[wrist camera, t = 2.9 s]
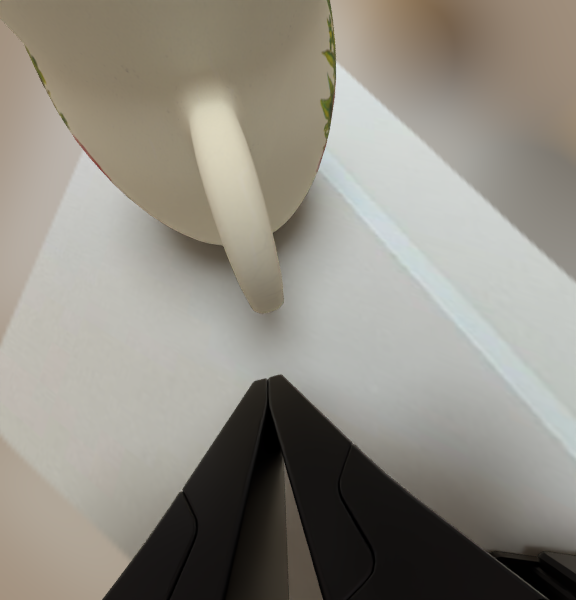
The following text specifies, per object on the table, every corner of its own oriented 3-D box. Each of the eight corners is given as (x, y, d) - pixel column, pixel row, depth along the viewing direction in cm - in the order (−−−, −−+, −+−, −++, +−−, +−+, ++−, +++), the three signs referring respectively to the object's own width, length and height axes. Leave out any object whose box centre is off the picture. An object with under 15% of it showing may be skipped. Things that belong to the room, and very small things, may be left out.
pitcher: (185, 369, 15) (-540, 271, 2) (143, 134, 20) (-133, -322, 7) (368, 313, 16) (735, -31, 3) (282, 100, 21) (263, -370, 8)
